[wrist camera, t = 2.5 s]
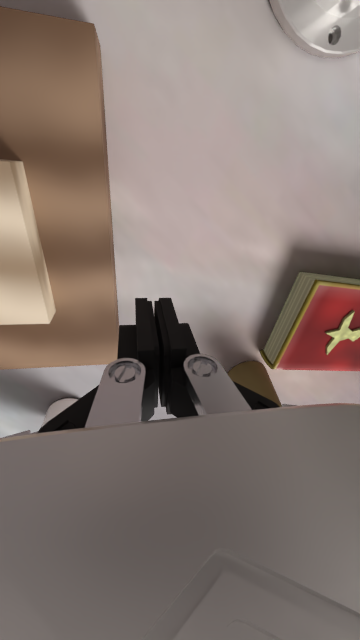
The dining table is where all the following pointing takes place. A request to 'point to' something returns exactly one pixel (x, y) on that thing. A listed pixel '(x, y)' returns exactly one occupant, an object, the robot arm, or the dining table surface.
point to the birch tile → (21, 254)
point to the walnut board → (61, 185)
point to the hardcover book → (317, 326)
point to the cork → (254, 379)
